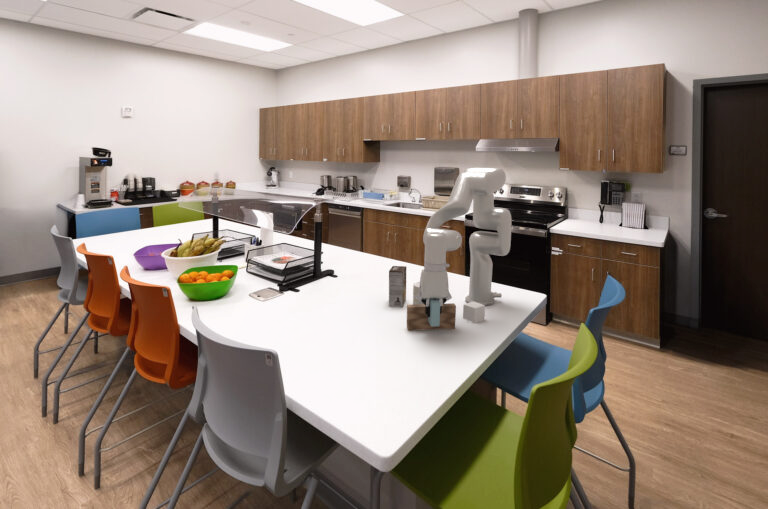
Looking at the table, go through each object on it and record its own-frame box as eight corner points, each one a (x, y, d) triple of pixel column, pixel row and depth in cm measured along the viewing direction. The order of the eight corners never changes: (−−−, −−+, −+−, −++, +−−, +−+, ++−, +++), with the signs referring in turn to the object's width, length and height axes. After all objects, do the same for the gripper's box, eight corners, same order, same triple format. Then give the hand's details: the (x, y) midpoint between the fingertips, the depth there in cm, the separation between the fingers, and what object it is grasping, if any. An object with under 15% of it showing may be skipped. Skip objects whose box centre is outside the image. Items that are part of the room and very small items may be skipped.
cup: (411, 309, 188) (412, 282, 185) (430, 308, 188) (431, 281, 186) (414, 316, 180) (415, 287, 177) (434, 315, 180) (435, 287, 178)
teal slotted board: (430, 311, 174) (431, 289, 173) (439, 326, 159) (440, 302, 157) (423, 311, 174) (423, 289, 172) (431, 326, 159) (431, 302, 157)
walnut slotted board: (453, 325, 170) (453, 303, 168) (455, 328, 167) (456, 305, 165) (406, 327, 168) (407, 304, 166) (407, 330, 165) (408, 307, 163)
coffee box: (392, 299, 200) (392, 265, 196) (406, 300, 199) (406, 266, 195) (388, 306, 191) (388, 270, 188) (403, 307, 190) (403, 271, 186)
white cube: (462, 318, 178) (463, 304, 176) (473, 315, 181) (473, 301, 180) (474, 322, 173) (474, 308, 172) (484, 319, 177) (485, 305, 175)
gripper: (454, 264, 163) (452, 311, 167) (410, 264, 161) (409, 312, 165) (459, 269, 155) (457, 318, 159) (413, 270, 154) (412, 320, 158)
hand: (433, 315), depth 162 cm, fingers closed on teal slotted board, 3 cm apart
